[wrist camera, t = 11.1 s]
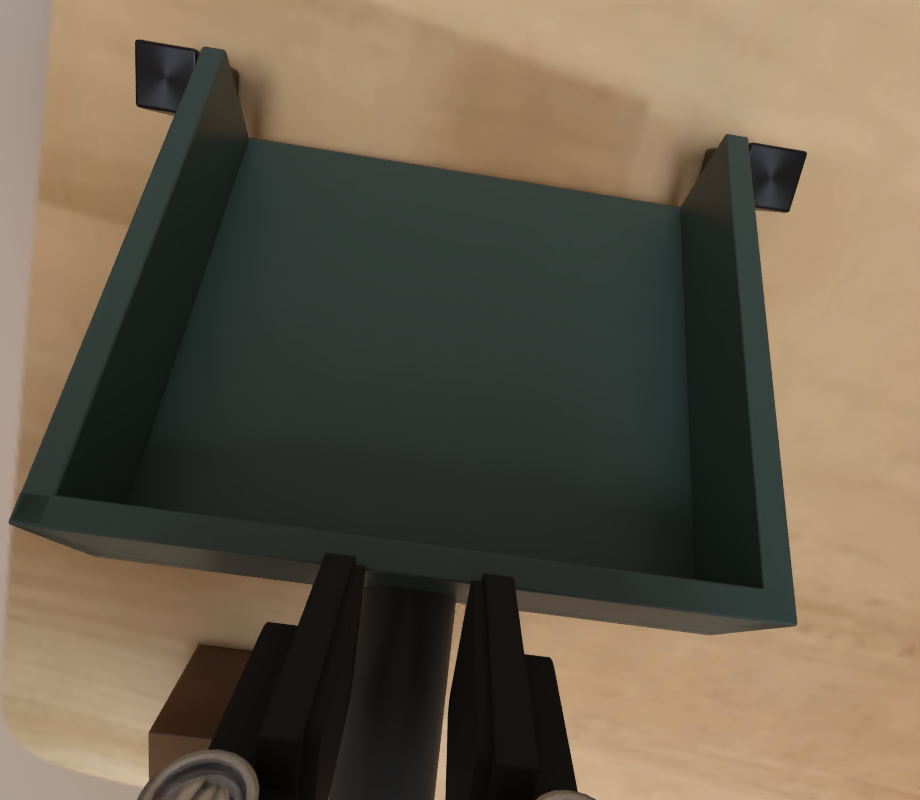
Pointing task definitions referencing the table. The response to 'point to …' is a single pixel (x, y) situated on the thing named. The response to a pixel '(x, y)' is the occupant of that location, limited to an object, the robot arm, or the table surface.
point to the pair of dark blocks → (171, 69)
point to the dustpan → (426, 403)
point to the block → (195, 705)
